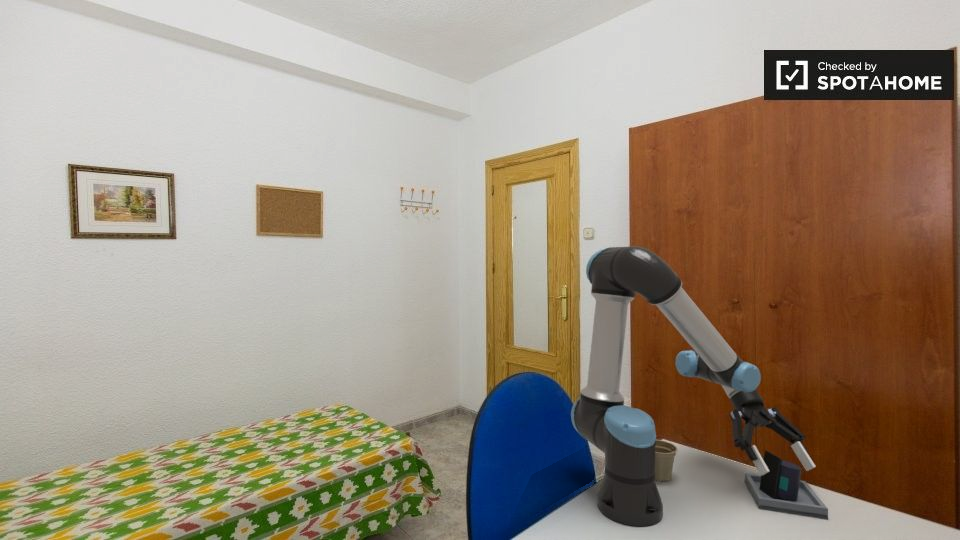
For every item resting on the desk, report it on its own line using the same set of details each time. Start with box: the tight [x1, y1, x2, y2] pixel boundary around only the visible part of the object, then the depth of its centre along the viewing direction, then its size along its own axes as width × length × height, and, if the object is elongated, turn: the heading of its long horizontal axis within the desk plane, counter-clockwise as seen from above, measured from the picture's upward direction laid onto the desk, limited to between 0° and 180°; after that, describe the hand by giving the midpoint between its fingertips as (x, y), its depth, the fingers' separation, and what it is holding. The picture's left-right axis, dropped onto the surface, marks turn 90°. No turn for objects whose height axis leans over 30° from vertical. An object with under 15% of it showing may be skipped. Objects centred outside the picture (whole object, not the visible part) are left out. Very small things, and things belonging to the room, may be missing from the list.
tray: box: [744, 472, 829, 520], centre depth 111 cm, size 14×14×2 cm
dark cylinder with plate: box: [759, 449, 803, 501], centre depth 111 cm, size 8×6×10 cm
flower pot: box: [655, 439, 679, 482], centre depth 124 cm, size 9×9×9 cm
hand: (788, 471), depth 110 cm, fingers open, 13 cm apart
